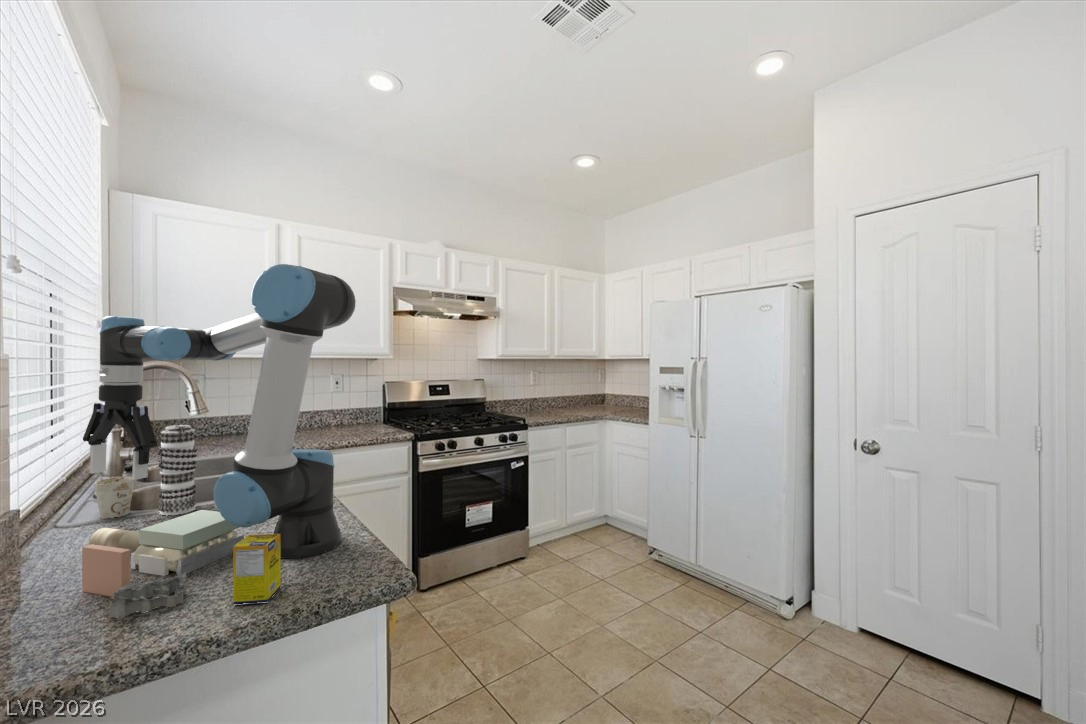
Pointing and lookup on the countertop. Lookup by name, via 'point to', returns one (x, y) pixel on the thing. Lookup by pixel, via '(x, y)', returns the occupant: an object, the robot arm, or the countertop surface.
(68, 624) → the countertop surface
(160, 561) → the roller cradle
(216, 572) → the countertop surface
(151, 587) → the egg carton
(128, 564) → the board
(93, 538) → the roller
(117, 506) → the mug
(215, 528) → the slab
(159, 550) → the roller bed
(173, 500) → the decorative candle
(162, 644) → the countertop surface
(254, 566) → the supplement box
